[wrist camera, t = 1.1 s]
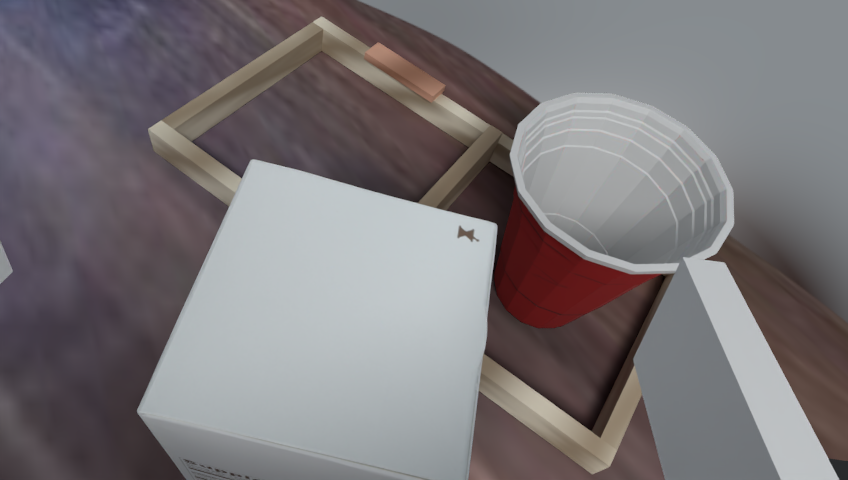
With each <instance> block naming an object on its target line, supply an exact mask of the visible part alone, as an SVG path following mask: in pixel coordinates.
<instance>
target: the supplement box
mask: <svg viewBox="0 0 848 480" xmlns="http://www.w3.org/2000/svg"><path fill="white" fill-rule="evenodd" d="M496 238H497V224H496V223H492V222H489V221H486V220H481V219H477V218H473V217H469V216H465V215H461V214H457V213H453V212H449V211H445V210H441V209H437V208H434V207H430V206H426V205H422V204H418V203H415V202H411V201H407V200H403V199H399V198H396V197H392V196H388V195H385V194H381V193H377V192H374V191H370V190H366V189H363V188H359V187H356V186H353V185H349V184H345V183H342V182H338V181H335V180H331V179H328V178H324V177H321V176H318V175H314V174H311V173H307V172H304V171H300V170H296V169H292V168H288V167H284V166H280V165H276V164H271V163H267V162H263V161H259V160H255V159H253V160H251V161H250V163H249V165H248V167H247V169H246V171H245V173H244V175H243V177H242V180H241V182H240V184H239V186H238V188H237V191H236V193H235V195H234V197H233V199H232V202H231V204H230V206H229V208H228V210H227V213H226V215H225V217H224V219H223V221H222V224H221V226H220V228H219V230H218V232H217V235H216V237H215V239H214V241H213V243H212V245H211V248H210V250H209V252H208V254H207V256H206V259H205V261H204V263H203V265H202V267H201V269H200V272H199V274H198V276H197V278H196V280H195V283H194V285H193V287H192V289H191V291H190V294H189V296H188V298H187V300H186V302H185V304H184V307H183V309H182V311H181V313H180V315H179V318H178V320H177V322H176V324H175V326H174V329H173V331H172V333H171V335H170V338H169V340H168V342H167V344H166V346H165V349H164V351H163V353H162V355H161V357H160V360H159V362H158V364H157V366H156V369H155V371H154V373H153V376H152V378H151V380H150V383H149V385H148V387H147V390H146V392H145V394H144V396H143V398H142V400H141V403H140V405H139V407H138V409H137V413H138V415H139V416H140V417H141V419H142V420H143V421H144V423H145V424H146V425H147V427H148V428H149V430H150V431H151V432H152V434H153V435H154V436H155V438H156V439H157V440H158V442H159V443H160V445H161V446H162V447H163V448H164V450H165V451H166V453H167V454H168V455H169V457H170V458H171V459H172V461H173V462H174V463H175V465H176V466H177V468H178V469H179V470H180V472H181V473H182V475H183V476H184V477H185V479H186V480H468V476H469V468H470V459H471V451H472V442H473V434H474V425H475V417H476V408H477V400H478V392H479V384H480V376H481V367H482V360H483V354H484V350H485V346H486V339H487V315H488V307H489V298H490V289H491V281H492V273H493V265H494V257H495V248H496Z"/></svg>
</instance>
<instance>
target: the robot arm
mask: <svg viewBox="0 0 848 480" xmlns="http://www.w3.org/2000/svg"><path fill="white" fill-rule="evenodd" d="M12 272H13V270H12V268H11V265H10V263H9V260H8V258H7V256H6V253H5V251H4V249H3V246H2V244H1V241H0V284H1V283H2V282H3V281H4V280H5V279H6V278H7V277H8V276H9V275H10V274H11V273H12ZM633 361H634V365H635V369H636V372H637V376H638V380H639V384H640V387H641V391H642V395H643V399H644V402H645V406H646V410H647V414H648V417H649V421H650V425H651V429H652V432H653V436H654V440H655V444H656V447H657V451H658V455H659V459H660V462H661V466H662V470H663V474H664V477H665V480H848V461H842V460H835V459H828V457H827V455H826V453H825V452H824V450H823V448H822V446H821V444H820V442H819V440H818V438H817V436H816V435H815V433H814V431H813V429H812V427H811V425H810V423H809V421H808V419H807V417H806V416H805V414H804V412H803V410H802V408H801V406H800V404H799V402H798V400H797V399H796V397H795V395H794V393H793V391H792V389H791V387H790V385H789V383H788V382H787V380H786V378H785V376H784V374H783V372H782V370H781V368H780V366H779V364H778V363H777V361H776V359H775V357H774V355H773V353H772V351H771V349H770V347H769V346H768V344H767V342H766V340H765V338H764V336H763V334H762V332H761V330H760V328H759V327H758V325H757V323H756V321H755V319H754V317H753V315H752V313H751V311H750V310H749V308H748V306H747V304H746V302H745V300H744V298H743V296H742V294H741V293H740V291H739V289H738V287H737V285H736V283H735V281H734V279H733V277H732V275H731V274H730V272H729V270H728V268H727V266H726V264H725V263H723V262H715V261H708V260H701V259H694V258H687V257H682V259H681V261H680V263H679V266H678V268H677V270H676V272H675V274H674V276H673V278H672V280H671V282H670V284H669V286H668V288H667V290H666V292H665V294H664V296H663V298H662V300H661V303H660V305H659V307H658V309H657V311H656V313H655V315H654V317H653V319H652V321H651V323H650V325H649V327H648V329H647V331H646V333H645V335H644V337H643V340H642V342H641V344H640V346H639V348H638V350H637V352H636V354H635V356H634V358H633Z"/></svg>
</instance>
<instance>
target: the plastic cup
mask: <svg viewBox="0 0 848 480" xmlns="http://www.w3.org/2000/svg"><path fill="white" fill-rule="evenodd" d="M510 163H511V167H512V171H513V176H514V182H515V188H514V193H513V194H514V200H513V203H512V207H511V211H510V215H509V218H508V222H507V226H506V229H505V233H504V237H503V241H502V245H501V248H500V255H499V258H498V261H497V265H496V269H495V273H494V275H495V278H494V281H495V286H496V292H497V296H498V297H499V299H500V300H501V302H502V304H503V305H504V307H505V309H506V310H507V311H508V312H509V313H511V314H512V315H513V316H514V317H516V318H517V319H518V320H519V321H520V322H523V323H525V324H528V325H531V326H534V327H536V328H556V327H561V326H563V325H565V324H567V323H569V322H571V321H573V320H575V319H577V318H579V317H581V316H582V315H585V314H587V313H589V312H591V311H593V310H595V309H597V308H600V307H602V306H603V305H605V304H607V303H609V302H610V301H612V300H614V299H616V298H617V297H619V296H621V295H623V294H624V293H626V292H628V291H630V290H631V289H633V288H635V287H637V286H639V285H640V284H642V283H644V282H646V281H648V280H650V279H653V278H655V277H657V276H659V275H661V274H669V273H675V272H676V270H677V268H678V266H679V263H680V261H681V259H682V257H687V258H694V259H701V260H704V259H706V258H708V257H710V256H712V255H714V254H716V253H717V252H718V250H719V249H720V247H721V245H722V244H723V242H724V241H725V239H726V237H727V236H728V234H729V232H730V231H731V229H732V227H733V226H734V198H733V197H734V196H733V189H732V187H731V185H730V183H729V181H728V178H727V176H726V175H725V172H724V170H723V169H722V166H721V164H720V162H719V160H718V158H717V156H716V155H715V154H714V153H713V152H712V151H711V150H710V149H709V148H708V147H707V146H706V145H705V144H704V143H703V142H702V141H701V140H700V139H699V138H698V137H697V136H696V135H695V134H694V133H693V132H692V131H691V130H690V129H689V128H688V127H687V126H685V125H683V124H682V123H680V122H678V121H677V120H675V119H673V118H672V117H670V116H668V115H667V114H665V113H663V112H662V111H660V110H658V109H657V108H655V107H653V106H651V105H648V104H645V103H641V102H638V101H635V100H631V99H628V98H625V97H622V96H618V95H615V94H605V93H572V94H568V95H565V96H562V97H559V98H555V99H552V100H549V101H546V102H543V103H541V104H540V105H539V106H537V107H536V108H535V109H534V110H533V111H532V112H531V113H530V114H529V115H528V116H527V117H526V118H524V119H523V120H522V121H521V122H520V123H519V124H518V127H517V131H516V134H515V138H514V141H513V145H512V148H511V152H510Z"/></svg>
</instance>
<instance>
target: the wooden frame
mask: <svg viewBox="0 0 848 480" xmlns="http://www.w3.org/2000/svg"><path fill="white" fill-rule="evenodd" d="M321 51H323V52H324V53H326V54H327V55H329V56H330V57H332V58H333V59H335V60H336V61H338V62H339V63H341V64H342V65H344V66H346V67H347V68H349V69H350V70H352V71H353V72H355V73H356V74H358V75H359V76H361V77H362V78H364V79H365V80H367V81H368V82H370V83H371V84H373V85H374V86H376V87H377V88H379V89H381V90H382V91H384V92H385V93H387V94H388V95H390V96H391V97H393V98H394V99H396V100H397V101H399V102H400V103H402V104H403V105H405V106H406V107H408V108H409V109H411V110H412V111H414V112H415V113H417V114H419V115H420V116H422V117H423V118H425V119H426V120H428V121H429V122H431V123H432V124H434V125H435V126H437V127H438V128H440V129H441V130H443V131H444V132H446V133H447V134H449V135H450V136H452V137H454V138H455V139H457V140H458V141H460V142H461V143H463V144H464V145H466V146H467V147H469V149H468V150H467V151H466V152H465V153H464V154H463V155H462V156H461V157H460V158H459V159H458V160H457V161H456V162H455V164H454V165H453V166H452V167H451V168H450V169H449V170H448V171H447V172H446V173H445V174H444V175H443V176H442V177H441V179H440V180H439V181H438V182H437V183H436V184H435V185H434V186H433V187H432V188H431V189H430V190H429V191H428V192H427V194H426V195H425V196H424V197H423V198H422V199H421V200H420V201H419V202H418V204H422V205H426V206H430V207H434V208H437V209H441V210H445V211H446V210H447V209H448V208H449V207H450V206H451V204H452V203H453V202H454V201H455V200H456V199H457V198H458V196H459V195H460V194H461V193H462V192H463V191H464V190H465V189H466V187H467V186H468V185H469V184H470V183H471V182H472V181H473V179H474V178H475V177H476V176H477V175H478V174H479V173H480V171H481V170H482V169H483V168H484V167H485V166H486V165H487V163H488V162H489V161H490V162H492V163H493V164H495V165H496V166H498V167H499V168H501V169H502V170H504V171H505V172H507V173H508V174H510V175H511V176H513V171H512V167H511V163H510V152H511V148H512V145H513V141H514V140H512V139H511V138H509V137H508V136H506V135H504V134H503V132H501V131H499V130H498V129H496V128H495V127H493V126H492V125H489V124H487V123H486V122H484V121H483V120H481V119H480V118H478V117H477V116H475V115H473V114H472V113H470V112H469V111H467V110H466V109H464V108H463V107H461V106H459V105H458V104H456V103H455V102H453V101H452V100H450V99H449V98H447V97H446V96H444V95H442V93H443V92H444V89H445V85H444V84H442V83H441V82H439V81H438V80H436V79H435V78H433V77H432V76H430V75H428V74H427V73H425V72H424V71H422V70H421V69H419V68H418V67H416V66H414V65H413V64H411V63H410V62H408V61H407V60H405V59H403V58H402V57H400V56H399V55H397V54H396V53H394V52H393V51H391V50H389V49H388V48H386V47H385V46H383V45H382V44H380V43H379V42H378V43H377V44H375V45H374V46H373V47H371V48H370V47H368V46H366V45H365V44H363V43H362V42H360V41H359V40H357V39H356V38H354V37H353V36H351V35H349V34H348V33H346V32H345V31H343V30H342V29H340V28H339V27H337V26H335V25H334V24H332V23H331V22H329V21H328V20H326V19H325V18H323V17H320V18H319V19H317V20H315V21H314V22H312V23H311V24H309V25H308V26H306V27H305V28H303V29H302V30H300V31H298V32H297V33H295V34H294V35H292V36H291V37H289V38H288V39H286V40H285V41H283V42H281V43H280V44H278V45H277V46H275V47H274V48H272V49H271V50H269V51H268V52H266V53H264V54H263V55H261V56H260V57H258V58H257V59H255V60H254V61H252V62H251V63H249V64H248V65H246V66H244V67H243V68H241V69H240V70H238V71H237V72H235V73H234V74H232V75H231V76H229V77H227V78H226V79H224V80H223V81H221V82H220V83H218V84H217V85H215V86H214V87H212V88H210V89H209V90H207V91H206V92H204V93H203V94H201V95H200V96H198V97H197V98H195V99H193V100H192V101H190V102H189V103H187V104H186V105H184V106H183V107H181V108H180V109H178V110H176V111H175V112H173V113H172V114H170V115H169V116H167V117H166V118H164V119H163V120H161V121H160V122H158V123H156V124H155V125H153V126H152V127H150V128H149V129H148V131H149V135H150V139H151V142H152V146H153V150H154V152H156V153H157V154H158V155H160V156H161V157H163V158H164V159H165V160H167V161H168V162H169V163H171V164H172V165H173V166H175V167H176V168H177V169H179V170H180V171H181V172H183V173H184V174H186V175H187V176H188V177H190V178H191V179H192V180H194V181H195V182H196V183H198V184H199V185H200V186H202V187H203V188H205V189H206V190H207V191H209V192H210V193H211V194H213V195H214V196H215V197H217V198H218V199H219V200H221V201H222V202H224V203H225V204H226V205H228V206H230V204H231V202H232V199H233V197H234V195H235V193H236V191H237V188H238V186H239V184H240V182H241V180H242V178H240V177H239V176H238V175H236V174H235V173H233V172H232V171H231V170H229V169H228V168H226V167H225V166H224V165H222V164H221V163H220V162H218V161H217V160H215V159H214V158H213V157H211V156H210V155H209V154H207V153H206V152H204V151H203V150H202V149H200V148H199V147H197V146H196V145H195V144H193V143H192V141H193V140H195V139H196V138H198V137H199V136H200V135H202V134H203V133H205V132H206V131H208V130H209V129H210V128H212V127H213V126H215V125H216V124H218V123H219V122H220V121H222V120H223V119H225V118H226V117H228V116H229V115H230V114H232V113H233V112H235V111H236V110H238V109H239V108H240V107H242V106H243V105H245V104H246V103H248V102H249V101H251V100H252V99H253V98H255V97H256V96H258V95H259V94H261V93H262V92H263V91H265V90H266V89H268V88H269V87H271V86H272V85H273V84H275V83H276V82H278V81H279V80H281V79H282V78H283V77H285V76H286V75H288V74H289V73H291V72H292V71H294V70H295V69H296V68H298V67H299V66H301V65H302V64H304V63H305V62H306V61H308V60H309V59H311V58H312V57H314V56H315V55H316V54H318V53H319V52H321ZM513 177H514V176H513ZM674 274H675V273H669V274H662V275H663V276H665V277H666V278H665V280H664V282H663V284H662V286H661V288H660V290H659V292H658V294H657V296H656V298H655V300H654V303H653V305H652V307H651V309H650V311H649V313H648V315H647V317H646V319H645V321H644V323H643V325H642V327H641V329H640V332H639V334H638V336H637V338H636V340H635V342H634V344H633V346H632V348H631V350H630V352H629V354H628V356H627V358H626V361H625V363H624V365H623V367H622V369H621V371H620V373H619V375H618V377H617V379H616V381H615V383H614V385H613V388H612V390H611V392H610V394H609V396H608V398H607V400H606V402H605V404H604V406H603V408H602V410H601V412H600V414H599V417H598V419H597V421H596V423H595V425H594V427H593V429H592V431H590V430H588V429H587V428H586V427H584V426H583V425H582V424H580V423H579V422H577V421H576V420H575V419H573V418H572V417H571V416H569V415H568V414H566V413H565V412H564V411H562V410H561V409H559V408H558V407H557V406H555V405H554V404H553V403H551V402H550V401H548V400H547V399H546V398H544V397H543V396H542V395H540V394H539V393H537V392H536V391H535V390H533V389H532V388H530V387H529V386H528V385H526V384H525V383H524V382H522V381H521V380H519V379H518V378H517V377H515V376H514V375H512V374H511V373H510V372H508V371H507V370H506V369H504V368H503V367H501V366H500V365H499V364H497V363H496V362H495V361H493V360H492V359H490V358H489V357H488V356H486V355H485V354H483V360H482V367H481V376H480V384H479V391H480V392H481V393H483V394H484V395H485V396H487V397H488V398H489V399H491V400H492V401H493V402H495V403H496V404H497V405H499V406H500V407H502V408H503V409H504V410H506V411H507V412H508V413H510V414H511V415H512V416H514V417H515V418H516V419H518V420H519V421H521V422H522V423H523V424H525V425H526V426H527V427H529V428H530V429H531V430H533V431H534V432H535V433H537V434H538V435H539V436H541V437H542V438H544V439H545V440H546V441H548V442H549V443H550V444H552V445H553V446H554V447H556V448H557V449H558V450H560V451H561V452H563V453H564V454H565V455H567V456H568V457H569V458H571V459H572V460H573V461H575V462H576V463H577V464H579V465H580V466H582V467H583V468H584V469H586V470H587V471H588V472H590V473H591V474H594V473H596V472H599V471H601V470H603V469H605V468H608V467H610V465H611V463H612V460H613V458H614V456H615V454H616V451H617V449H618V447H619V445H620V442H621V440H622V438H623V436H624V433H625V431H626V429H627V427H628V424H629V422H630V420H631V418H632V415H633V413H634V411H635V408H636V406H637V404H638V402H639V399H640V397H641V395H642V391H641V387H640V384H639V380H638V376H637V372H636V369H635V365H634V361H633V358H634V356H635V354H636V352H637V350H638V348H639V346H640V344H641V342H642V340H643V337H644V335H645V333H646V331H647V329H648V327H649V325H650V323H651V321H652V319H653V317H654V315H655V313H656V311H657V309H658V307H659V305H660V303H661V300H662V298H663V296H664V294H665V292H666V290H667V288H668V286H669V284H670V282H671V280H672V278H673V276H674Z"/></svg>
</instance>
